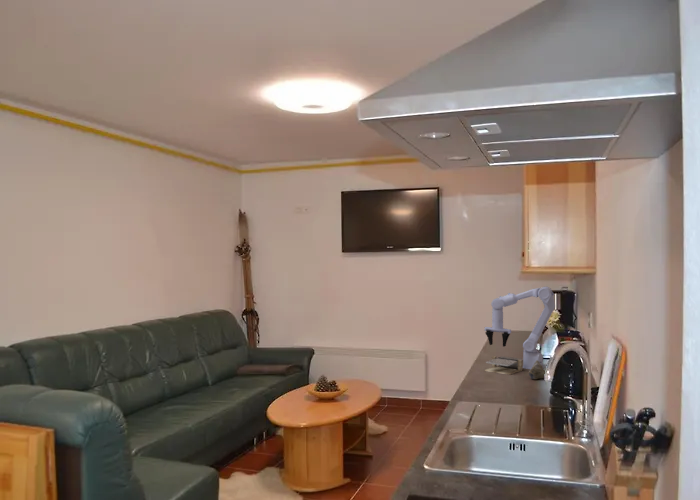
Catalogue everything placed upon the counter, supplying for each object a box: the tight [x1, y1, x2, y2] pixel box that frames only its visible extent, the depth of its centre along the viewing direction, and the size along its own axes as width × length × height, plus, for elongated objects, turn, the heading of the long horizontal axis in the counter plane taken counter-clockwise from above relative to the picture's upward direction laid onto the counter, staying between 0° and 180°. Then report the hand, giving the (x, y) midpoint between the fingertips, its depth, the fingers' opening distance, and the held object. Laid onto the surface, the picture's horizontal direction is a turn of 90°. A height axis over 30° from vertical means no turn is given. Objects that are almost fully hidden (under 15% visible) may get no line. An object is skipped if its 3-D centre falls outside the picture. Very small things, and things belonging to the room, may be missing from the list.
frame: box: [483, 355, 524, 376], centre depth 280 cm, size 16×12×6 cm
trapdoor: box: [485, 355, 523, 369], centre depth 282 cm, size 12×18×4 cm
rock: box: [528, 360, 546, 380], centre depth 263 cm, size 11×6×10 cm
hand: (497, 345), depth 294 cm, fingers open, 7 cm apart
